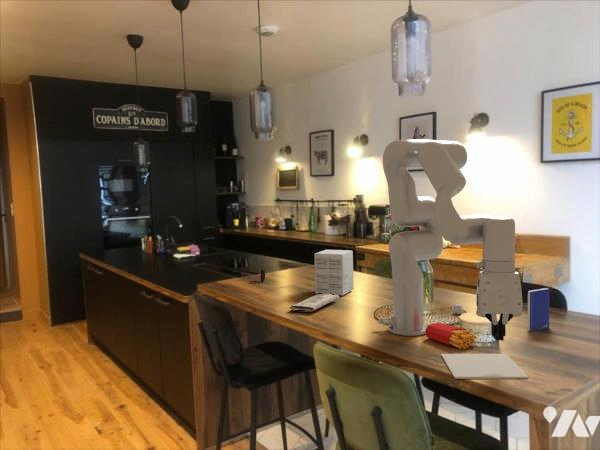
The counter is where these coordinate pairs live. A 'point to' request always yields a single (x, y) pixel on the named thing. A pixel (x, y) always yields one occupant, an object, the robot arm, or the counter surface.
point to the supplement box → (334, 272)
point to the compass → (261, 278)
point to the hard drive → (538, 309)
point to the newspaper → (315, 302)
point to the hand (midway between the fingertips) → (498, 338)
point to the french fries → (450, 335)
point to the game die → (457, 309)
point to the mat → (483, 366)
